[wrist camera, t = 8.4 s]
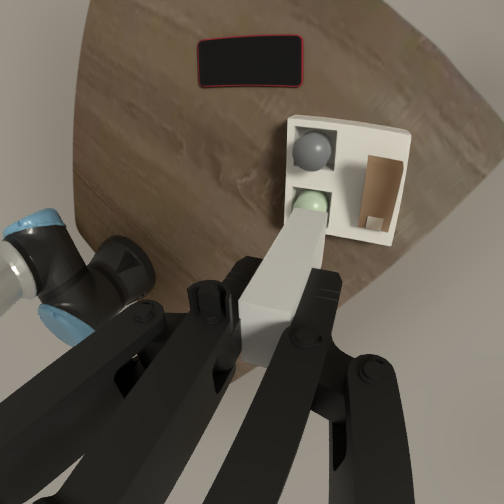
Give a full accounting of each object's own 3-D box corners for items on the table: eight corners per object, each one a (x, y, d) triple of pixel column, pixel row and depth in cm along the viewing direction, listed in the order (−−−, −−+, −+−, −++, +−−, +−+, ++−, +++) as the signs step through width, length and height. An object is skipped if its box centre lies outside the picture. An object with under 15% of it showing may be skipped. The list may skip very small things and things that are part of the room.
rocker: (358, 219, 39) (357, 227, 38) (368, 154, 32) (367, 162, 31) (388, 224, 38) (387, 233, 37) (403, 161, 30) (403, 169, 30)
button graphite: (298, 160, 39) (291, 169, 36) (300, 129, 37) (292, 134, 34) (331, 165, 38) (327, 173, 35) (333, 132, 36) (329, 138, 33)
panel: (290, 215, 47) (281, 231, 43) (294, 114, 39) (284, 119, 35) (390, 232, 43) (391, 251, 38) (407, 130, 35) (412, 137, 30)
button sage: (298, 212, 45) (291, 224, 41) (299, 184, 42) (293, 194, 39) (327, 217, 43) (322, 229, 40) (330, 189, 41) (326, 199, 38)
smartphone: (302, 87, 36) (198, 87, 41) (303, 87, 37) (201, 87, 41) (302, 34, 32) (196, 40, 37) (304, 35, 33) (200, 40, 37)
